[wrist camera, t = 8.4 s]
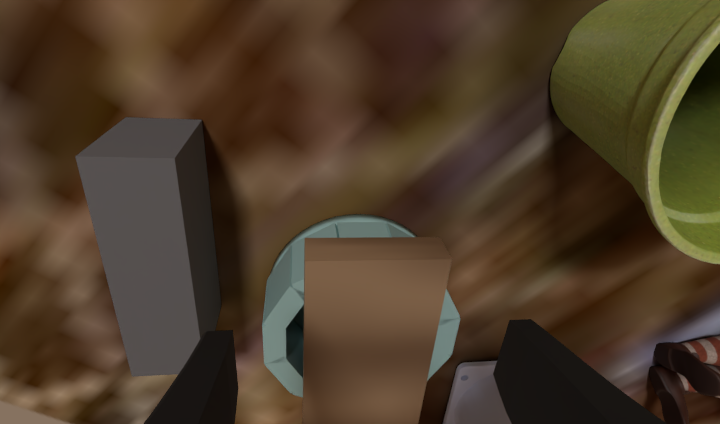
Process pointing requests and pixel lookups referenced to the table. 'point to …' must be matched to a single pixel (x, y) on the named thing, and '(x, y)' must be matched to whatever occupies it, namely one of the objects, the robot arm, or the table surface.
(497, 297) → the table surface
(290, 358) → the bowl
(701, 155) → the plant pot
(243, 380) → the table surface
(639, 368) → the table surface
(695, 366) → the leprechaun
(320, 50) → the table surface
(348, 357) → the walnut board
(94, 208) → the grey rectangular block
